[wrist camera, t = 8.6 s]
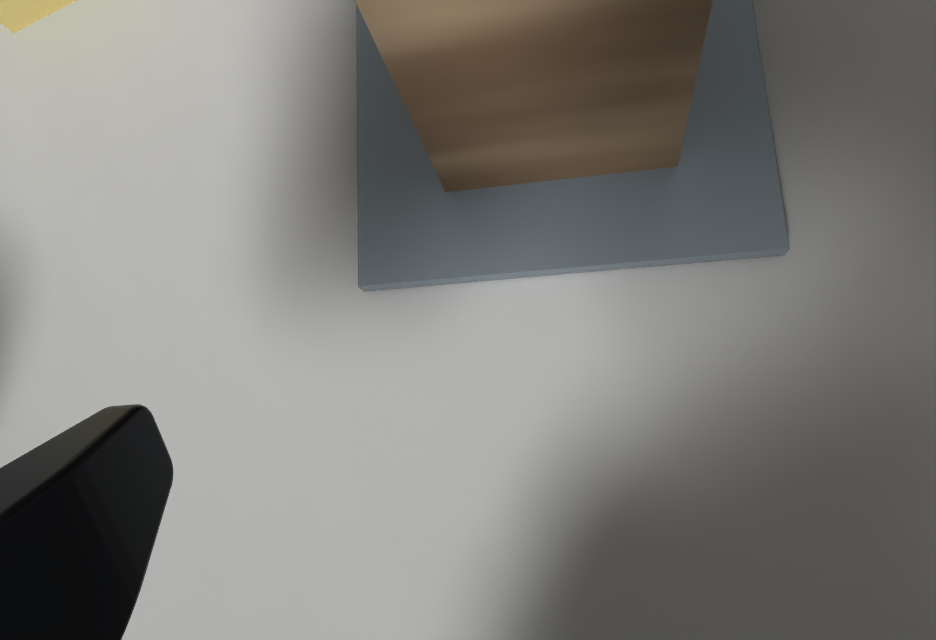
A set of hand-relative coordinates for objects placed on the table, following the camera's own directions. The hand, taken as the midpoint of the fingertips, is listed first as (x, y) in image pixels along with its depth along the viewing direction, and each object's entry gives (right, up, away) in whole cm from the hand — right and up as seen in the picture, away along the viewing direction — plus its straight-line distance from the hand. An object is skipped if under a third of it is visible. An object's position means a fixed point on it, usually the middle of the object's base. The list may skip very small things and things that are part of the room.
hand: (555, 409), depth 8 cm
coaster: (+1, +6, +10) cm, 12 cm away
